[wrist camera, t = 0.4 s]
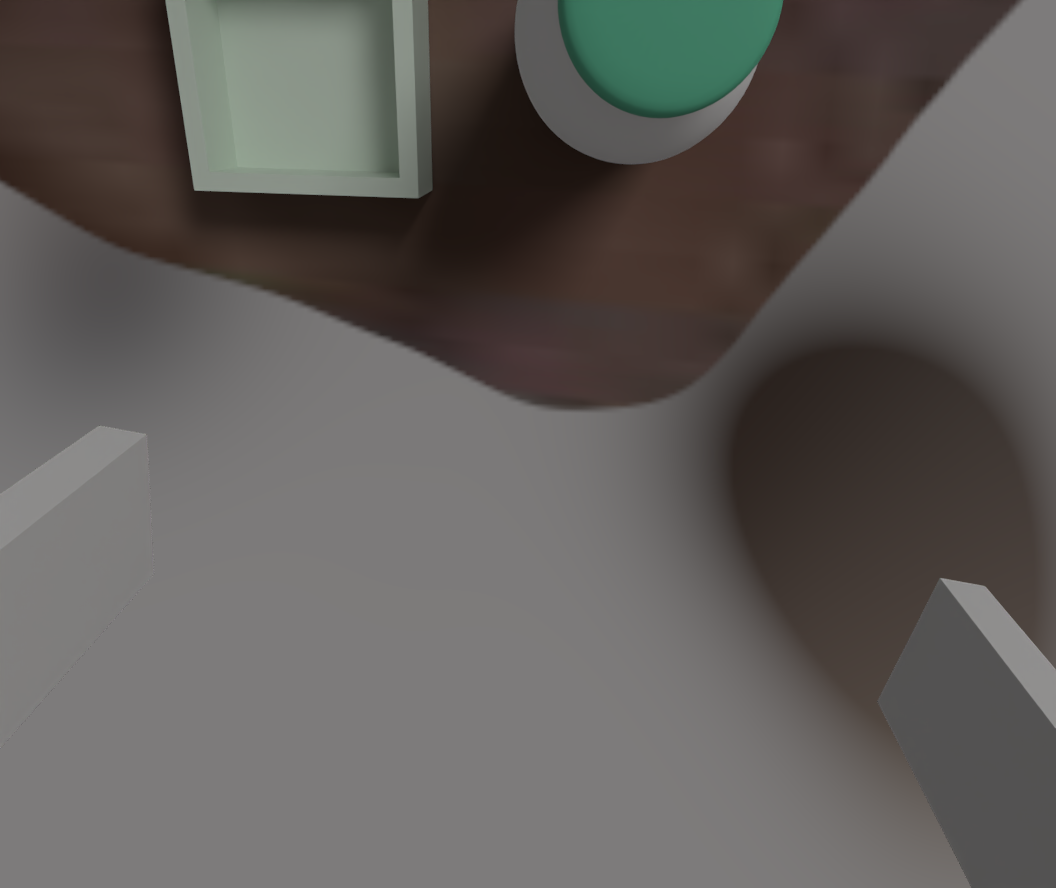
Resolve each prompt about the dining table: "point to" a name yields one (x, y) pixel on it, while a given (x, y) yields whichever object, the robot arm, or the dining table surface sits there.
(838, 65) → the dining table surface
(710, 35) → the milk bottle
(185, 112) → the tray
